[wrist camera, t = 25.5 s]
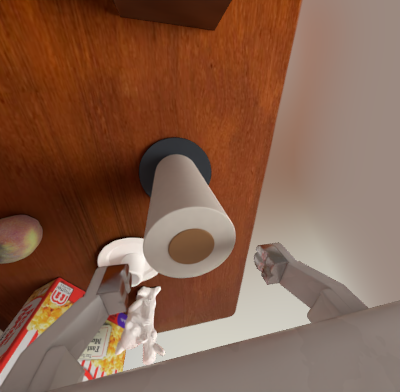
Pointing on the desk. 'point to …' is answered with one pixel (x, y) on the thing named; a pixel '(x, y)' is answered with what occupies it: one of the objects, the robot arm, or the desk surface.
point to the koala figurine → (141, 326)
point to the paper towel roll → (185, 222)
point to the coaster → (170, 148)
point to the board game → (46, 315)
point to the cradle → (175, 11)
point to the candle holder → (128, 258)
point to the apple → (18, 237)
